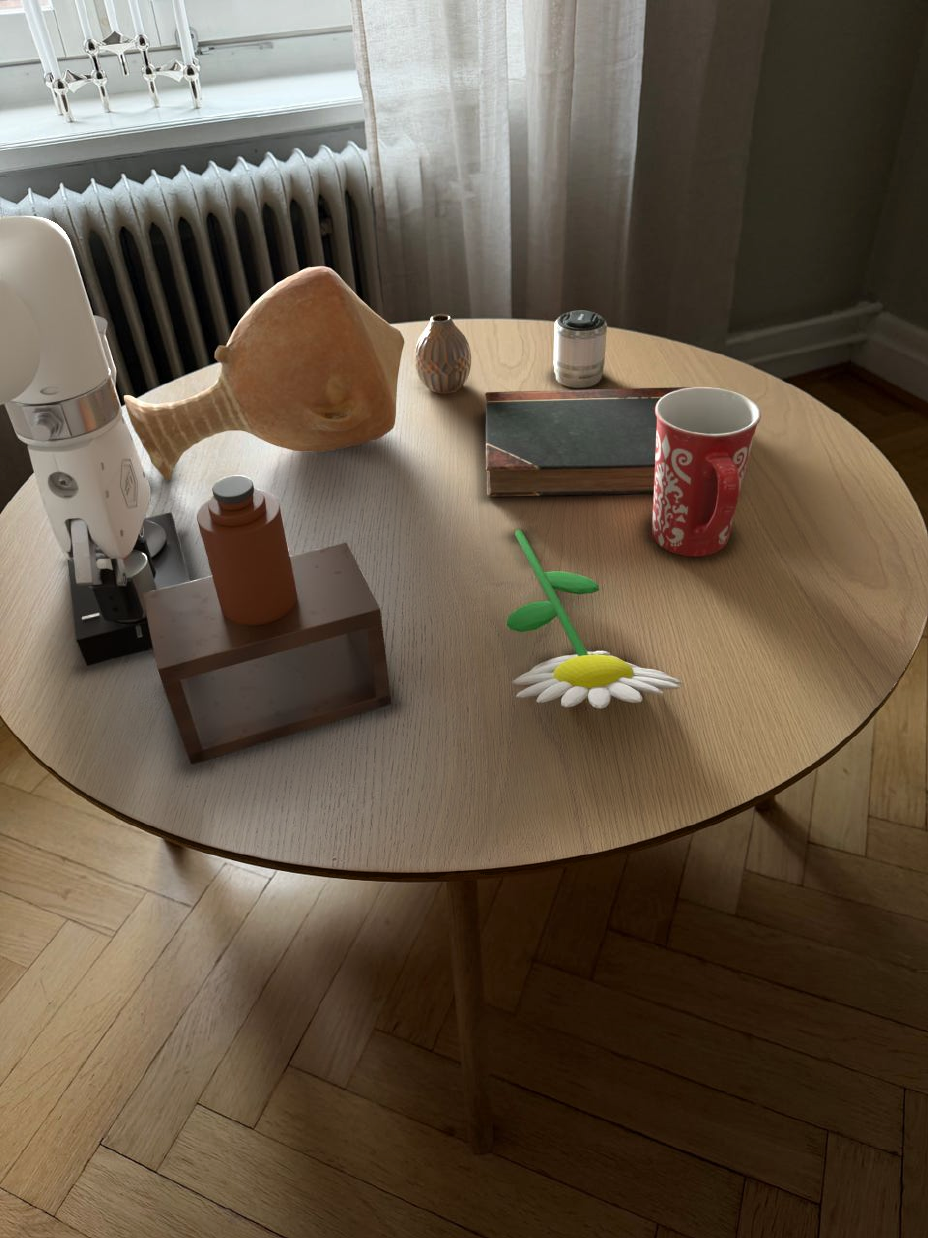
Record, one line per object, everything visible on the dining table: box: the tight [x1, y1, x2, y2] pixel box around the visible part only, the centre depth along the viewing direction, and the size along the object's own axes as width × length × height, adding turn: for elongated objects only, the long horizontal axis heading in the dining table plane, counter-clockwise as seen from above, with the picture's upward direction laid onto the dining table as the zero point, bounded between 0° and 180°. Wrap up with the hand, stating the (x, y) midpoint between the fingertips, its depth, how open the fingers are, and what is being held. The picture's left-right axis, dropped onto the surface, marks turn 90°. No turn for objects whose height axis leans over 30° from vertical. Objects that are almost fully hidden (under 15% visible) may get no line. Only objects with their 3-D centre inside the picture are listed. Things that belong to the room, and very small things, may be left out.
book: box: [484, 386, 696, 498], centre depth 100 cm, size 17×4×25 cm
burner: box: [95, 520, 167, 561], centre depth 86 cm, size 8×8×1 cm
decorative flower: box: [505, 529, 684, 710], centre depth 78 cm, size 13×5×30 cm
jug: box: [123, 265, 406, 481], centre depth 98 cm, size 20×19×30 cm
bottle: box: [196, 475, 297, 626], centre depth 65 cm, size 6×6×10 cm
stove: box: [67, 511, 191, 667], centre depth 83 cm, size 10×18×3 cm, turn 21°
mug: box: [651, 386, 762, 558], centre depth 83 cm, size 13×9×14 cm
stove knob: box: [96, 549, 157, 623], centre depth 77 cm, size 4×4×5 cm
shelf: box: [142, 542, 393, 765], centre depth 71 cm, size 16×9×10 cm, turn 111°
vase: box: [414, 313, 472, 394], centre depth 112 cm, size 7×7×9 cm
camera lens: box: [553, 309, 608, 389], centre depth 112 cm, size 6×6×8 cm
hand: (131, 596), depth 78 cm, fingers closed on stove knob, 4 cm apart
